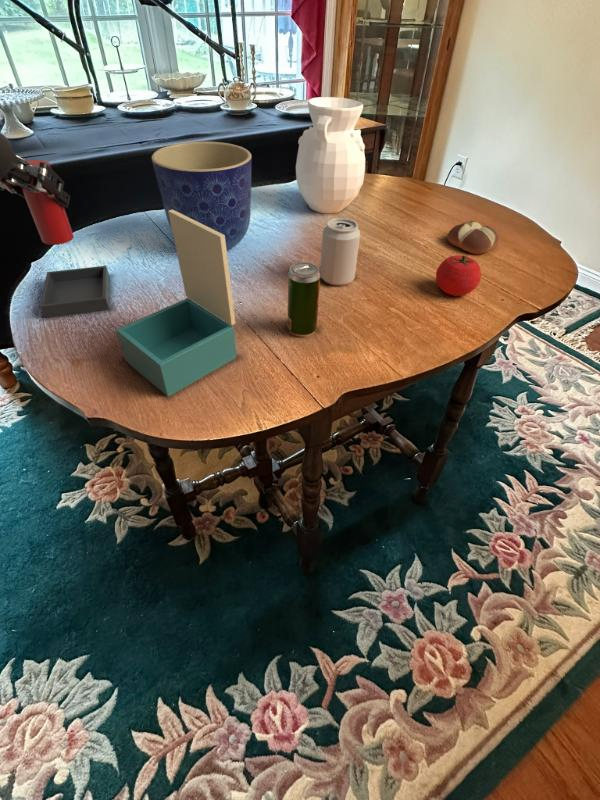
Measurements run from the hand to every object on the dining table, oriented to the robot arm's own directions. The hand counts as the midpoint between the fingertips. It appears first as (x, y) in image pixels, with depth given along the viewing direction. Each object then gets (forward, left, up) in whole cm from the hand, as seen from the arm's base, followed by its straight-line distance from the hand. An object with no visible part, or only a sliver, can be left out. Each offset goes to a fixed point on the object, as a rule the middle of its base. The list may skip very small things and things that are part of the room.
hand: (51, 199), depth 74 cm
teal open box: (+16, -27, -18) cm, 36 cm away
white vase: (+63, +31, -18) cm, 73 cm away
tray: (-1, -2, -18) cm, 18 cm away
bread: (+90, 0, -18) cm, 92 cm away
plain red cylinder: (-1, -1, -6) cm, 6 cm away
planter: (+28, +16, -18) cm, 37 cm away
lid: (+22, -24, -4) cm, 32 cm away
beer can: (+38, -24, -18) cm, 48 cm away
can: (+51, -8, -18) cm, 55 cm away
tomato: (+73, -19, -18) cm, 78 cm away
